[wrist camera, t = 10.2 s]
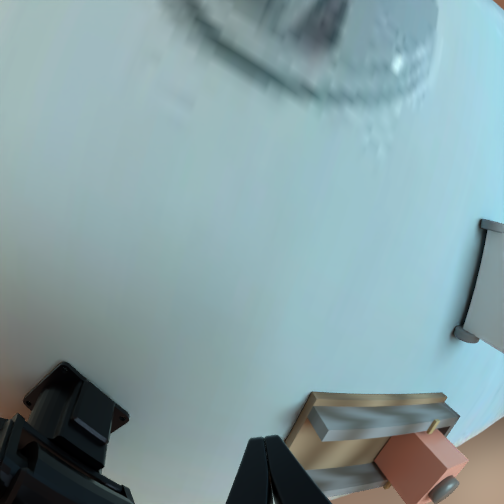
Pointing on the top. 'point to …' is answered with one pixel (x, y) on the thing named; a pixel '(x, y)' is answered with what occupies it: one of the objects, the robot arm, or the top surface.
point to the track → (360, 434)
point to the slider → (421, 466)
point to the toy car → (487, 293)
